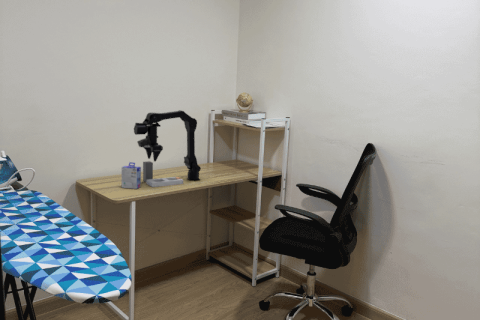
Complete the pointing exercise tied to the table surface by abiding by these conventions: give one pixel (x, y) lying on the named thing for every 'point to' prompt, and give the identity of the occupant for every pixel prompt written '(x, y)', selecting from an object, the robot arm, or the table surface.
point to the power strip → (164, 181)
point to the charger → (147, 170)
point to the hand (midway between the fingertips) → (151, 160)
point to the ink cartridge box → (131, 176)
